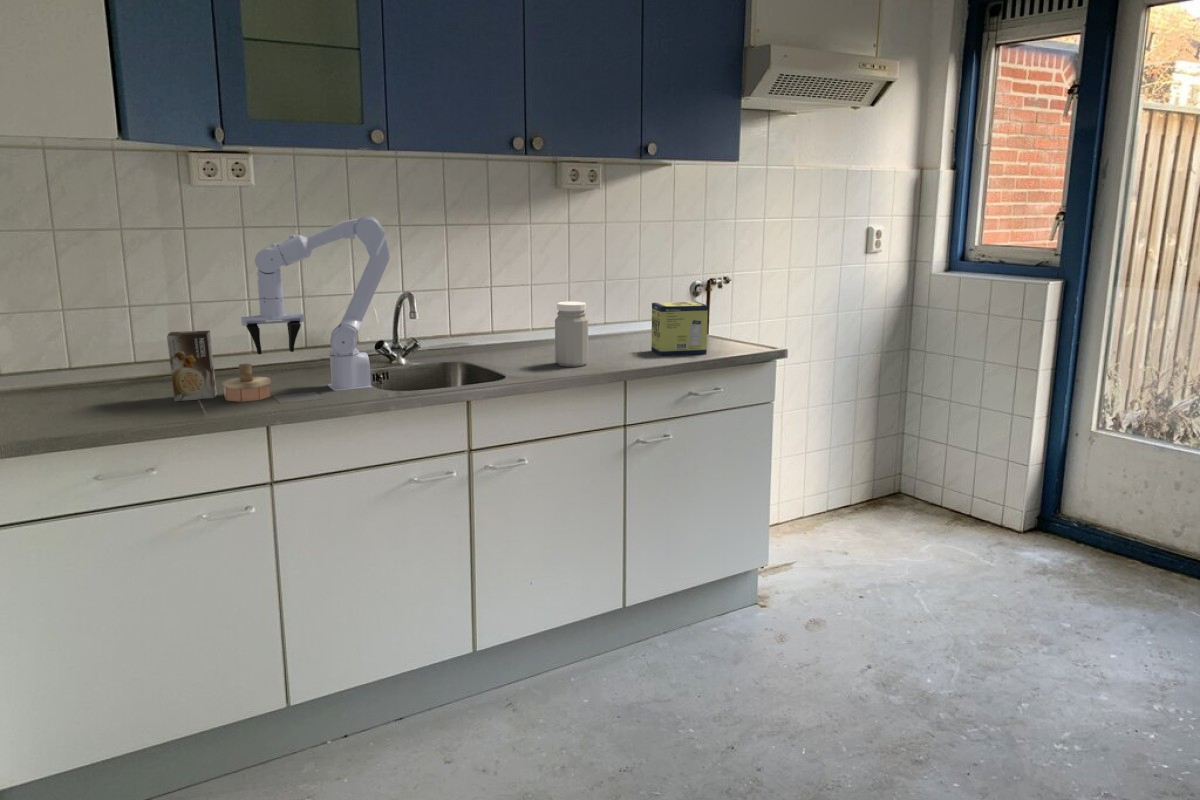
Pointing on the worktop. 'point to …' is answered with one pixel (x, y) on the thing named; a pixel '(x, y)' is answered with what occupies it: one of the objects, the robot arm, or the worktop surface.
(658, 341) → the protein box
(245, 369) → the lid
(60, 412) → the worktop surface
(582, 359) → the jar
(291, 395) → the mat
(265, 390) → the bowl
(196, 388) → the coffee box
